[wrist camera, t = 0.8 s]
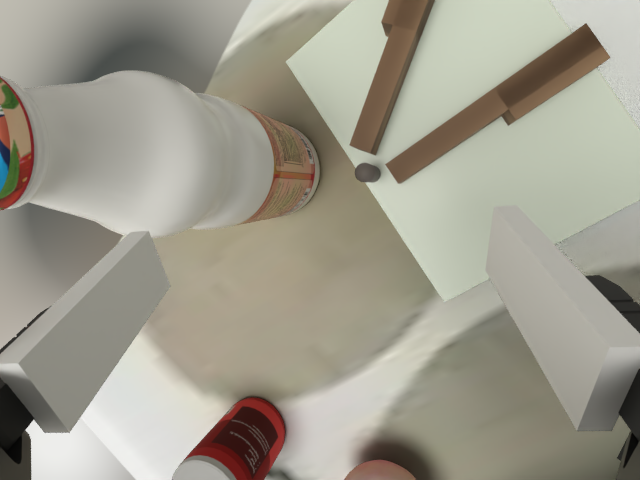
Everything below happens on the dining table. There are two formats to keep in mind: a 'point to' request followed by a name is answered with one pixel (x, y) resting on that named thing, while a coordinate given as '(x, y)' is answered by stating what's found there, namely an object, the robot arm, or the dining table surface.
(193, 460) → the canned food
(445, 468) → the dining table surface
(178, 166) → the fruit juice
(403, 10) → the arm
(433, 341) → the dining table surface
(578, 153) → the board
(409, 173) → the tongs fixed
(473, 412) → the dining table surface
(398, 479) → the decorative fruit
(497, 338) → the dining table surface
